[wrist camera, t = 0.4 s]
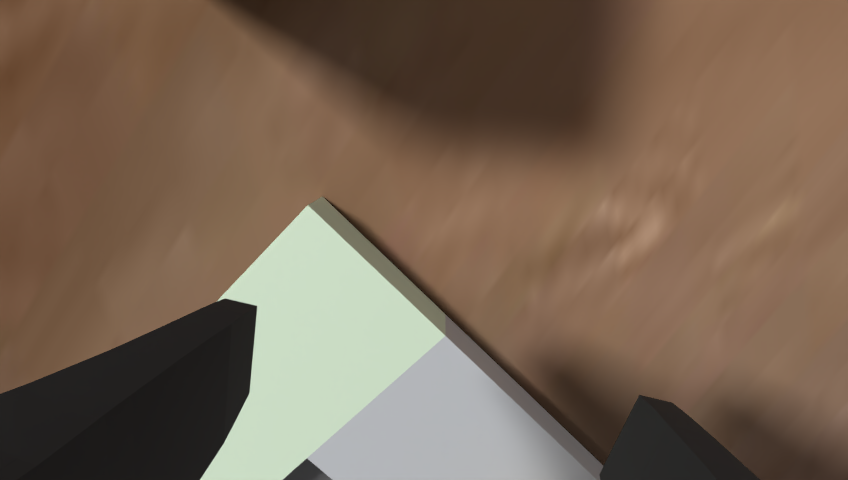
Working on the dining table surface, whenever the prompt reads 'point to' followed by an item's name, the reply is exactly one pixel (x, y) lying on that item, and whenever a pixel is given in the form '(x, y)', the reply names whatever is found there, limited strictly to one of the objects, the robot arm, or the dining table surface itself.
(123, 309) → the dining table surface
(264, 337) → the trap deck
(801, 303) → the dining table surface
